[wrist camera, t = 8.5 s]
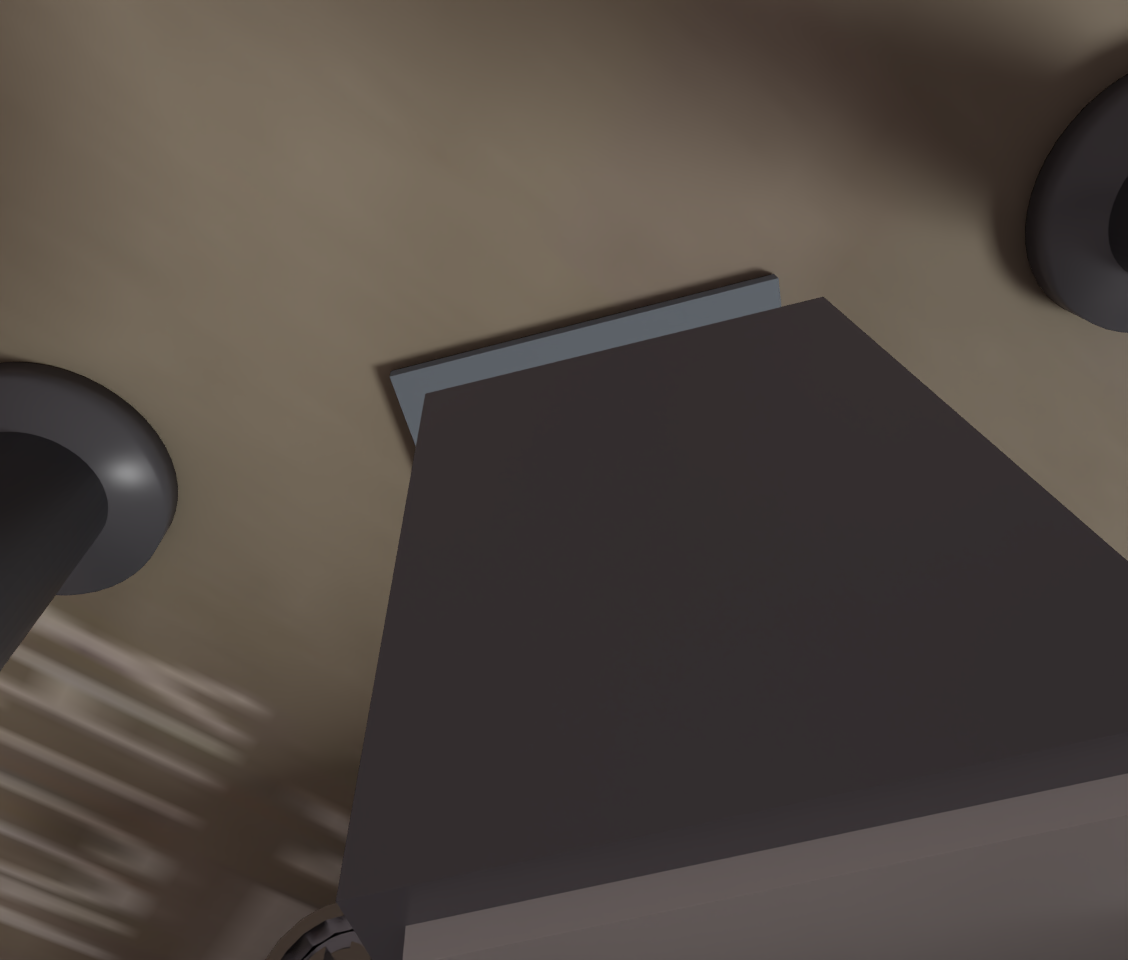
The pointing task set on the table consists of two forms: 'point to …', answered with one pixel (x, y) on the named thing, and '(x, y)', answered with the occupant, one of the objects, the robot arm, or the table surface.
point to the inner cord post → (1085, 214)
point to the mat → (581, 340)
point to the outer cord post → (73, 492)
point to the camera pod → (739, 672)
